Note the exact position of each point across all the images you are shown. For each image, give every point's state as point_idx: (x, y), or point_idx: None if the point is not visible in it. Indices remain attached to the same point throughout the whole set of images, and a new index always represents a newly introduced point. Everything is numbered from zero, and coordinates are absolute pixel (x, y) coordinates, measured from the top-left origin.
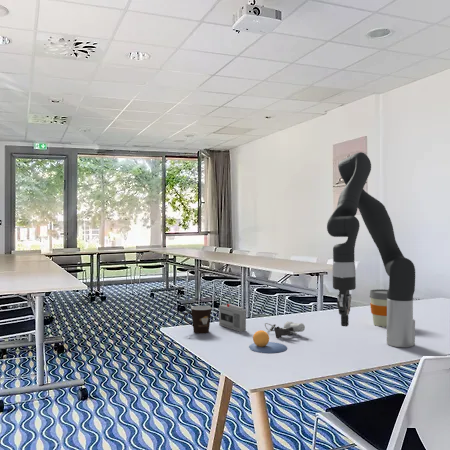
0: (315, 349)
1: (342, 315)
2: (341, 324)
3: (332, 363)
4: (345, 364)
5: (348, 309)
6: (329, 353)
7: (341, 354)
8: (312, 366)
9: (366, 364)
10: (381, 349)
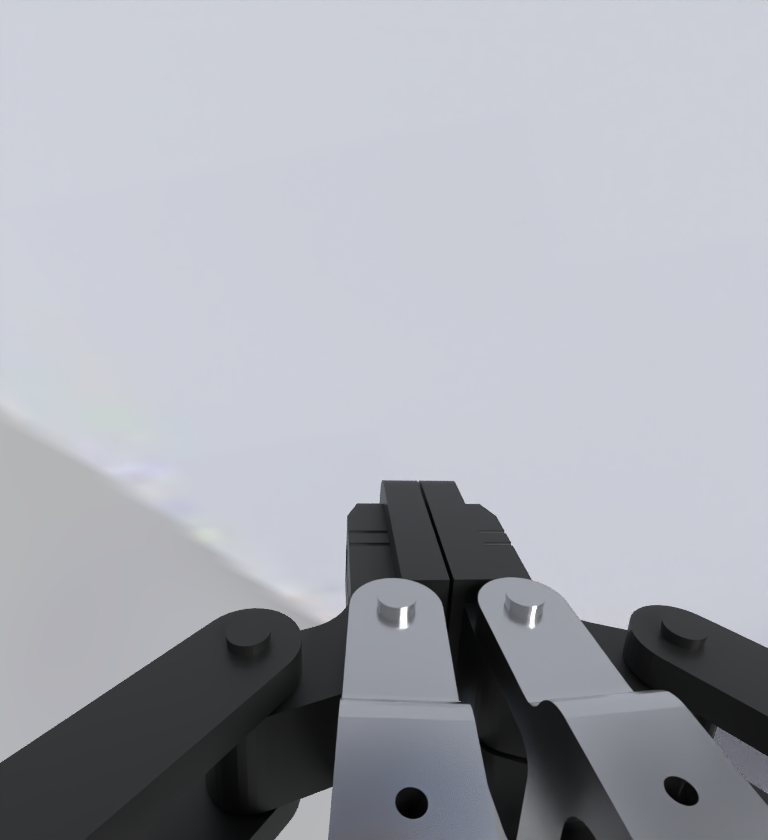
0: (588, 47)
1: (340, 625)
2: (381, 489)
3: (196, 300)
4: (223, 405)
5: (508, 825)
6: (490, 220)
7: (493, 331)
8: (3, 132)
9: (298, 541)
10: (714, 584)
